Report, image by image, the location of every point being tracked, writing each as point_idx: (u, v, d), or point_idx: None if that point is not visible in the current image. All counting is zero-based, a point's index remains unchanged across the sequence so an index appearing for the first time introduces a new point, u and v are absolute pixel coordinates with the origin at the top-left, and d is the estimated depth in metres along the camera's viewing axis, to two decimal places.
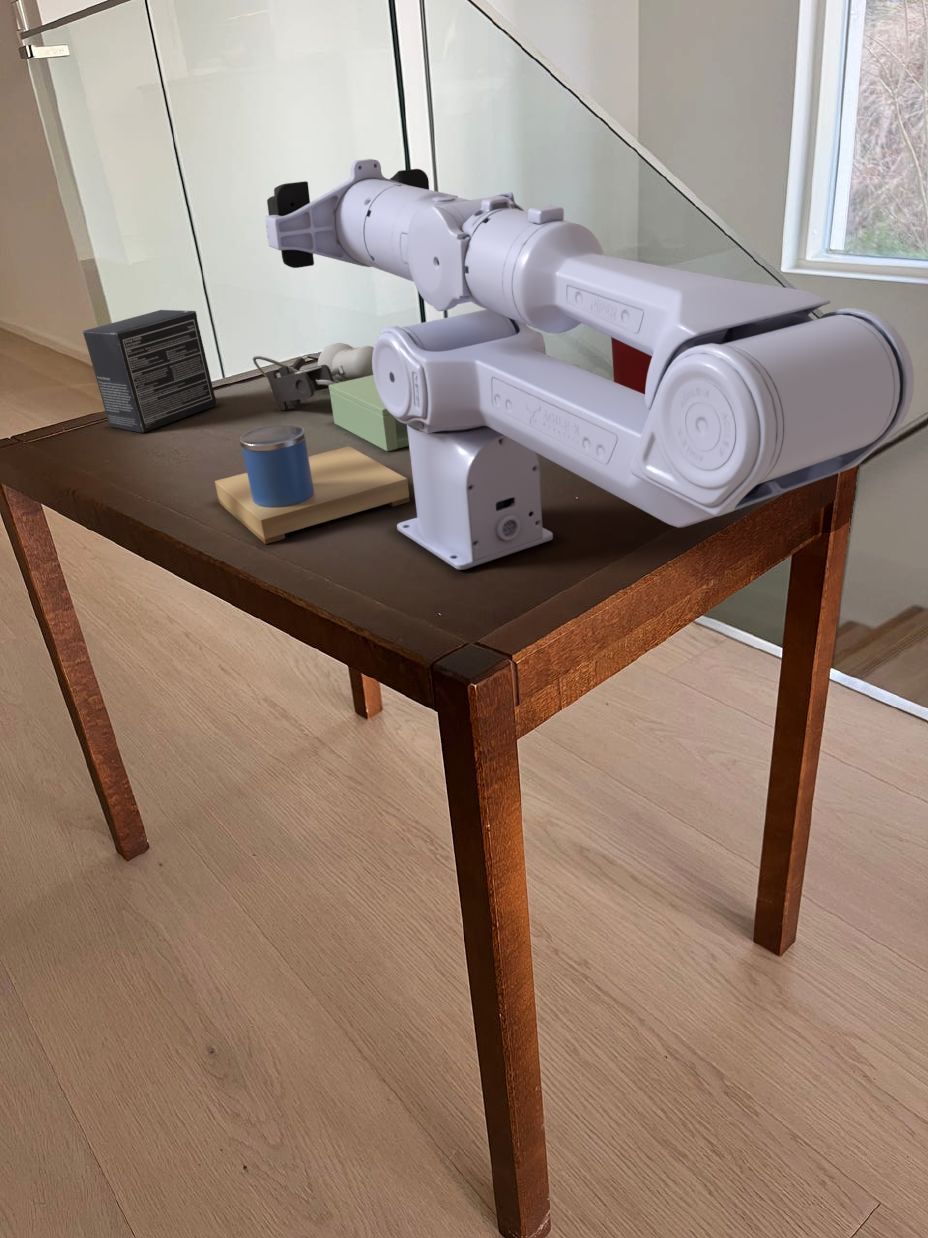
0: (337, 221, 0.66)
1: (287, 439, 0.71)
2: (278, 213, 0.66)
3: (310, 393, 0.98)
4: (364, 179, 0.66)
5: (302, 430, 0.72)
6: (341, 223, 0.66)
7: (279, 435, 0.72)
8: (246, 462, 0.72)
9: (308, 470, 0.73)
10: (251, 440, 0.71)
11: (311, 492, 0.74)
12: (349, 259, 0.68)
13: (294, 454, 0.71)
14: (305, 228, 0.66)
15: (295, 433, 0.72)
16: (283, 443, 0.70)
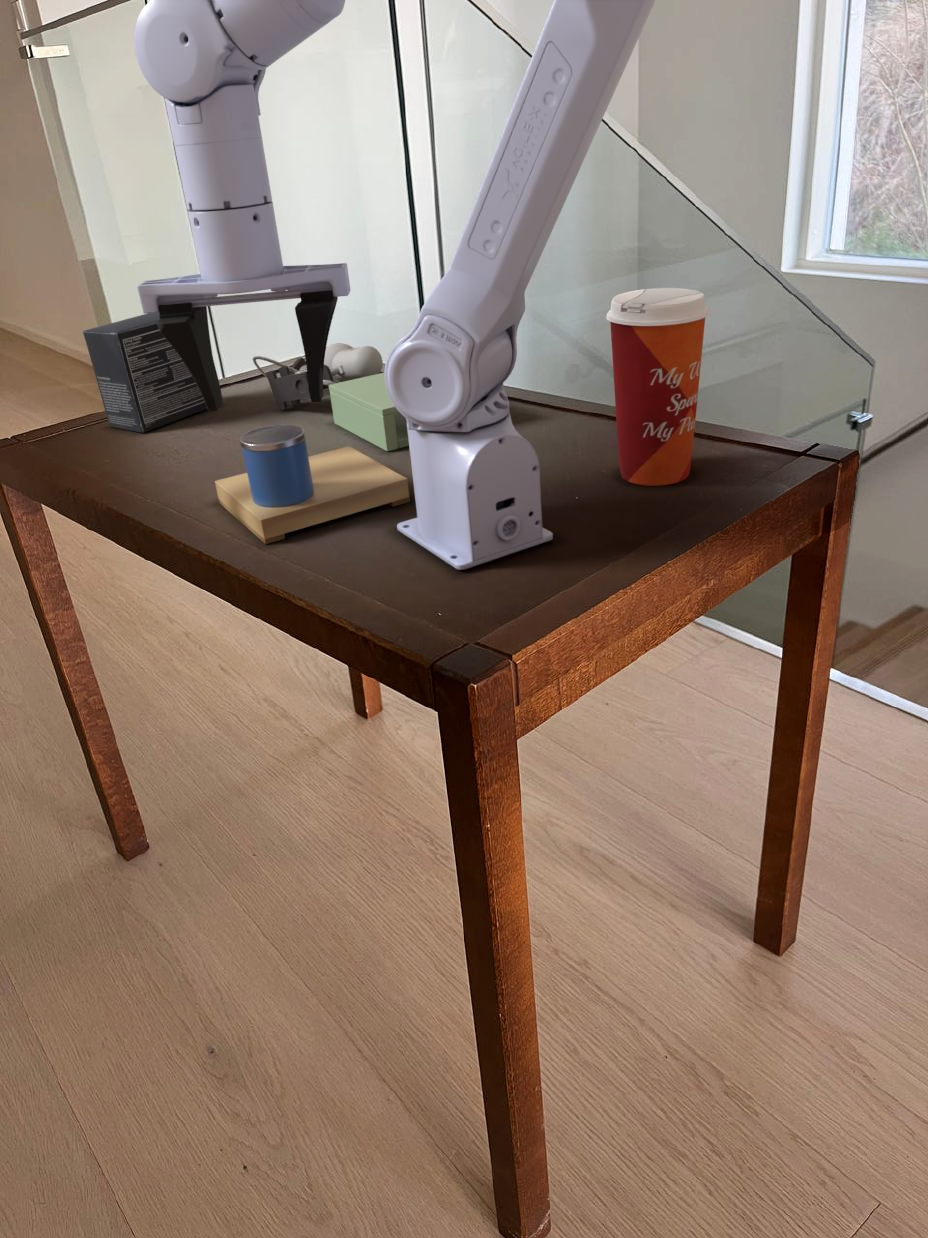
0: None
1: (287, 439, 0.71)
2: None
3: None
4: None
5: (302, 430, 0.72)
6: None
7: (279, 435, 0.72)
8: (246, 462, 0.72)
9: (308, 470, 0.73)
10: (251, 440, 0.71)
11: (311, 492, 0.74)
12: (206, 281, 0.65)
13: (294, 454, 0.71)
14: None
15: (295, 433, 0.72)
16: (283, 443, 0.70)
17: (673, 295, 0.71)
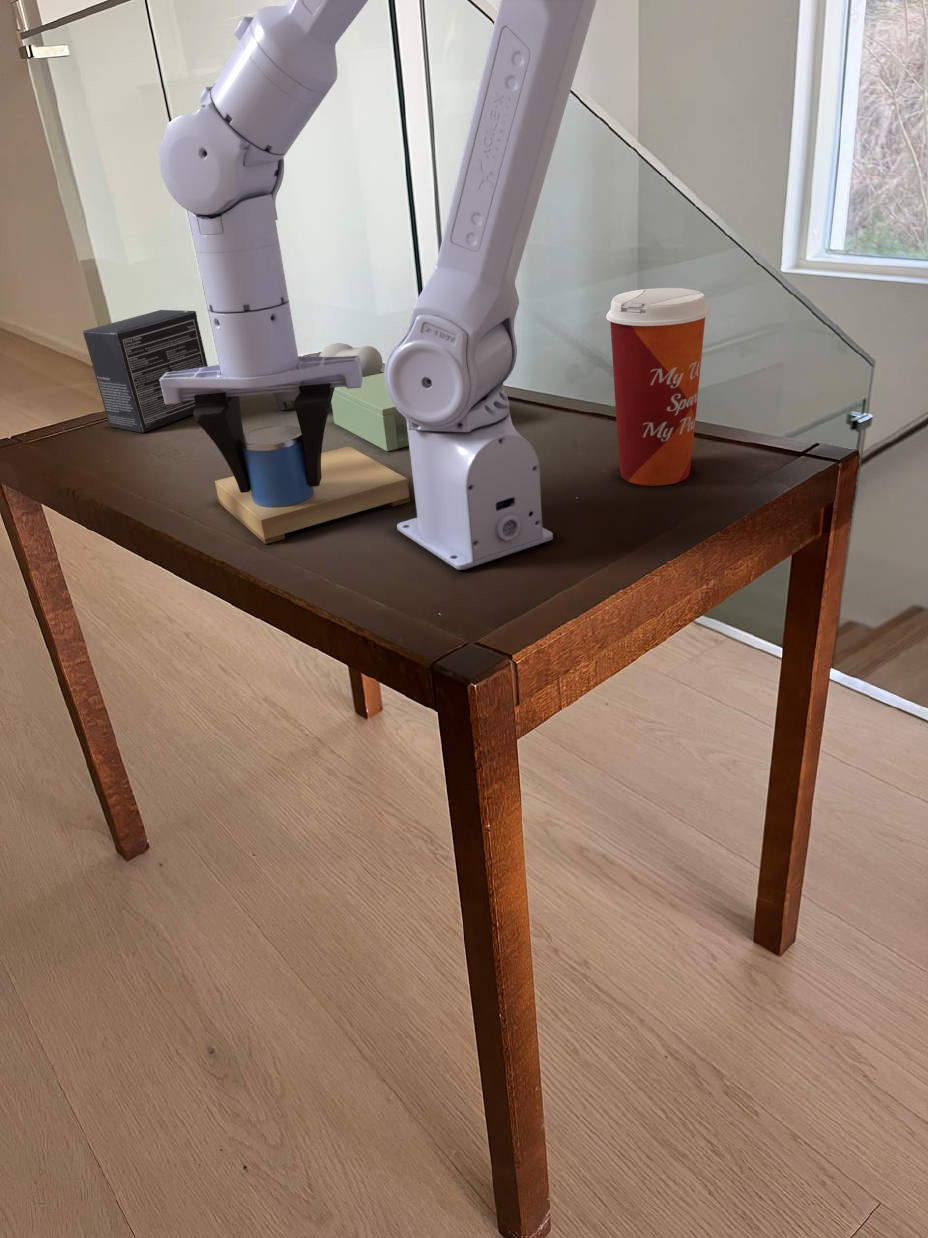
0: None
1: (287, 439, 0.71)
2: None
3: None
4: None
5: None
6: None
7: (278, 435, 0.72)
8: (246, 462, 0.72)
9: None
10: (250, 440, 0.71)
11: (311, 492, 0.74)
12: (226, 377, 0.68)
13: (294, 454, 0.71)
14: None
15: (295, 433, 0.72)
16: (283, 443, 0.70)
17: (673, 295, 0.71)
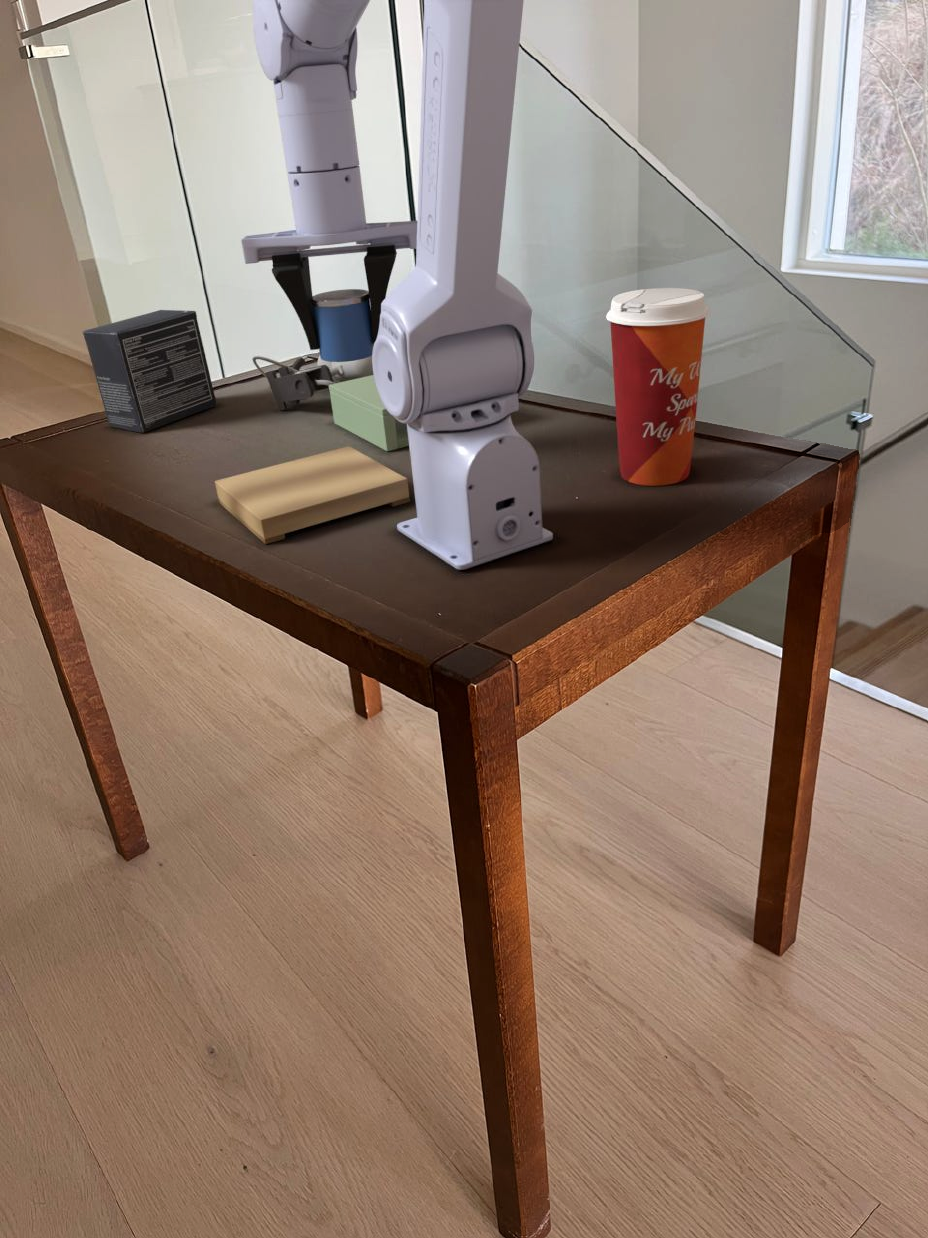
0: None
1: (355, 297, 0.78)
2: None
3: (310, 393, 0.98)
4: None
5: (367, 291, 0.80)
6: None
7: (346, 295, 0.79)
8: (316, 319, 0.79)
9: None
10: (321, 298, 0.78)
11: None
12: (303, 235, 0.75)
13: (361, 311, 0.78)
14: None
15: (361, 293, 0.79)
16: (352, 299, 0.78)
17: (673, 295, 0.71)
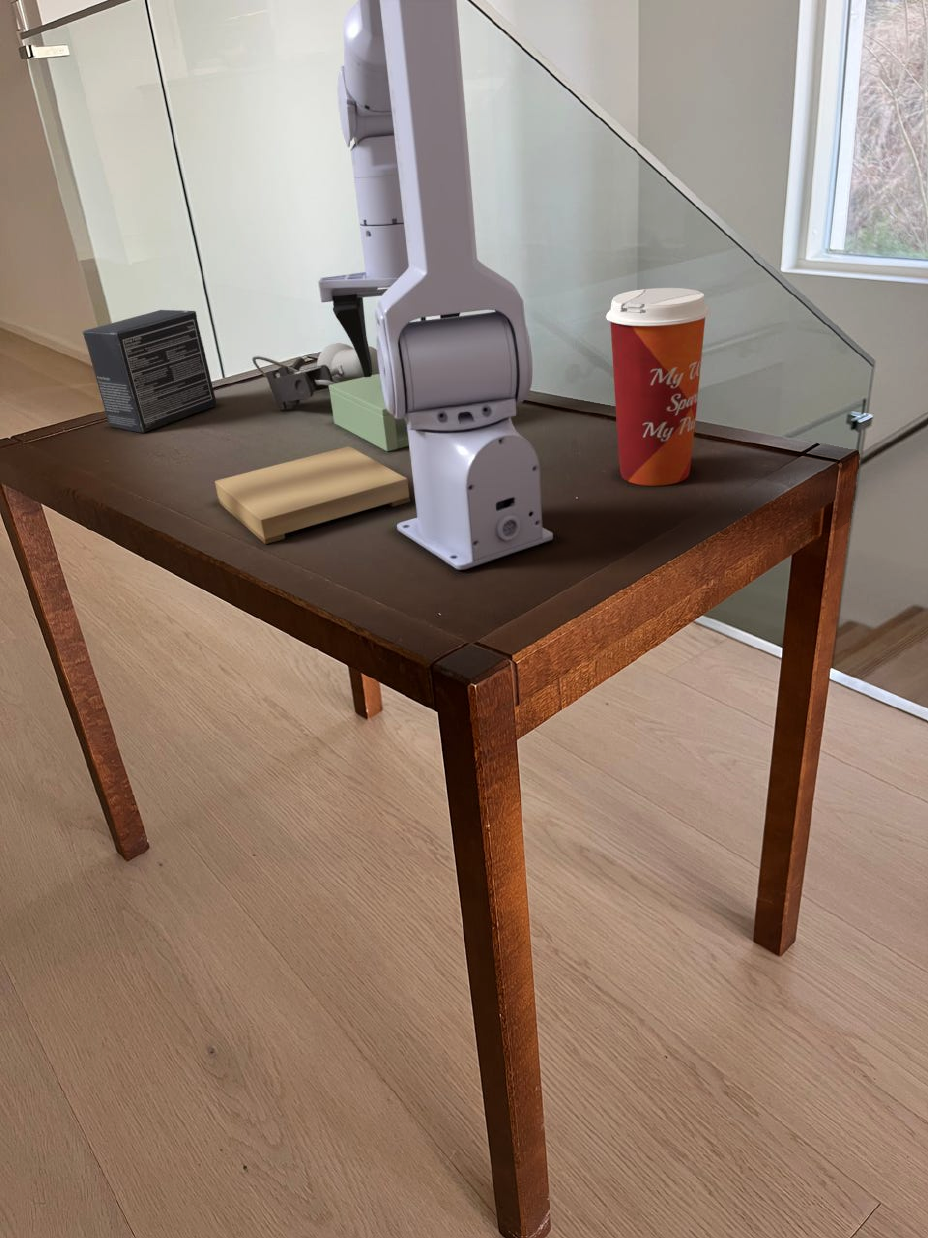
0: None
1: None
2: None
3: (309, 393, 0.98)
4: None
5: None
6: None
7: None
8: None
9: None
10: None
11: None
12: (373, 278, 0.86)
13: None
14: None
15: None
16: None
17: (673, 295, 0.71)
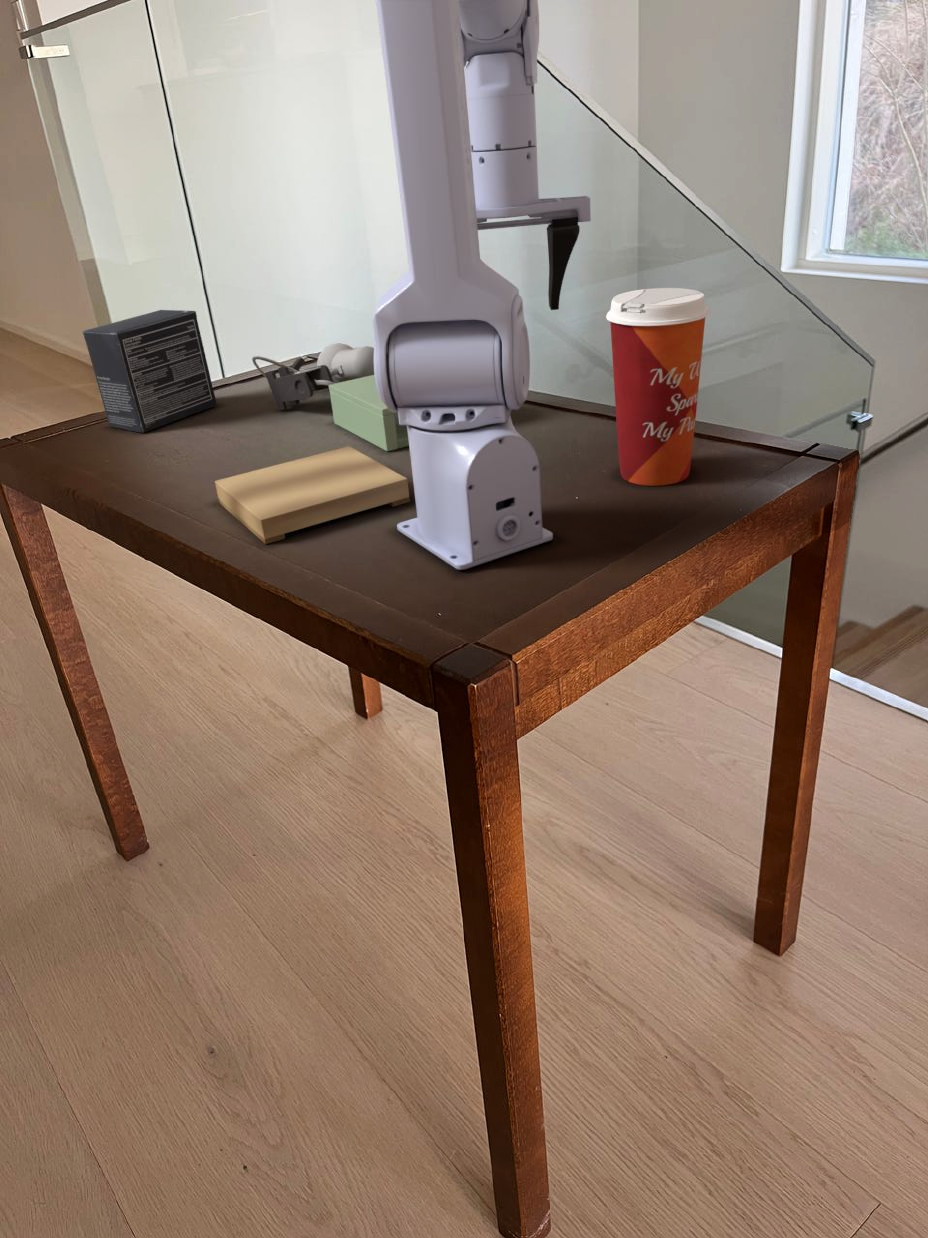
0: None
1: None
2: None
3: (309, 393, 0.98)
4: None
5: None
6: None
7: None
8: None
9: None
10: None
11: None
12: (484, 208, 0.82)
13: None
14: None
15: None
16: None
17: (673, 295, 0.71)
